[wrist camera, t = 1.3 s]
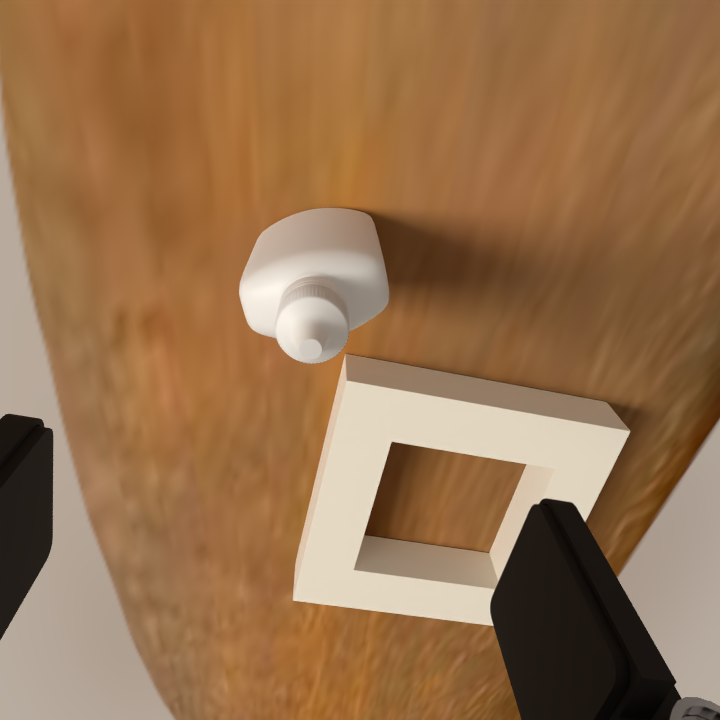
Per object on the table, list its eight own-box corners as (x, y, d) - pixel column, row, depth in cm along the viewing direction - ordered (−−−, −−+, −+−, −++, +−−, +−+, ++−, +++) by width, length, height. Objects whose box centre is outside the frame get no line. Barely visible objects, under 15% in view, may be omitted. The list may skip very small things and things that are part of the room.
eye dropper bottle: (359, 300, 30) (374, 431, 19) (250, 267, 29) (202, 385, 18) (388, 218, 28) (423, 311, 18) (274, 180, 27) (236, 253, 17)
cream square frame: (345, 353, 31) (346, 380, 29) (606, 402, 33) (630, 431, 31) (295, 562, 38) (292, 600, 35) (517, 592, 40) (530, 630, 37)
